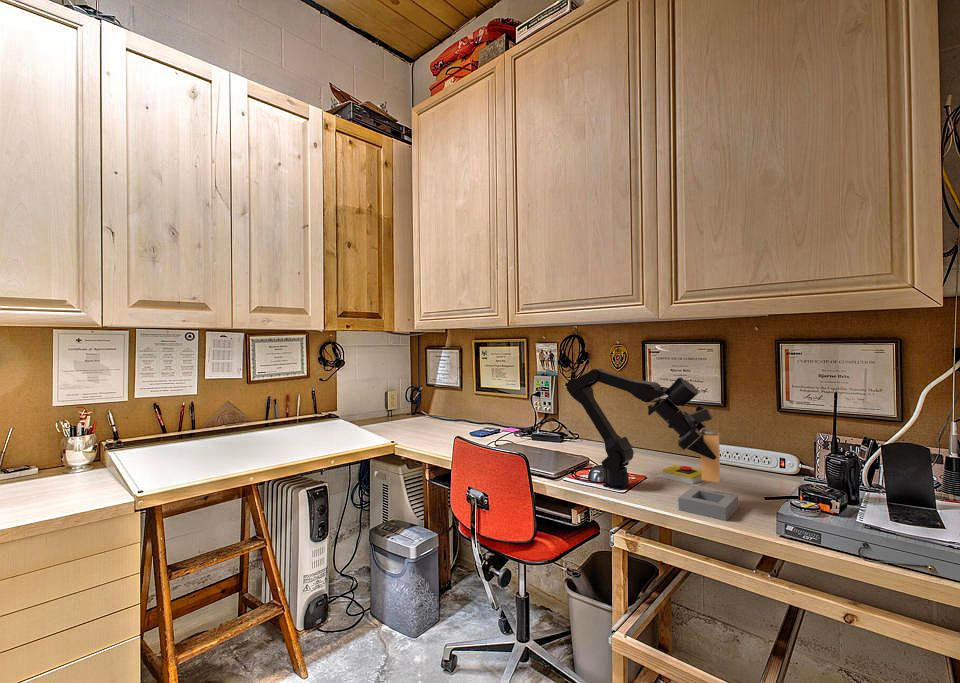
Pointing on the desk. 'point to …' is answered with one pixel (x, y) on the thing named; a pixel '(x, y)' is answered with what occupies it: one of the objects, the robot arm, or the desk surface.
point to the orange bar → (709, 466)
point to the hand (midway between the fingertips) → (715, 456)
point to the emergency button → (683, 475)
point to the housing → (708, 503)
